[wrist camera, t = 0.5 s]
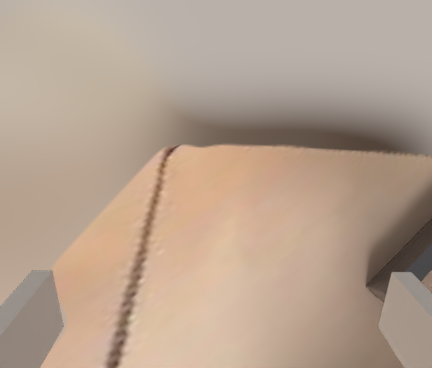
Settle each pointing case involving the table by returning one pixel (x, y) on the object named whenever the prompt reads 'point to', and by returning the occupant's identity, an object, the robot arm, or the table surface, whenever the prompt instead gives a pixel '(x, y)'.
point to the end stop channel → (406, 262)
